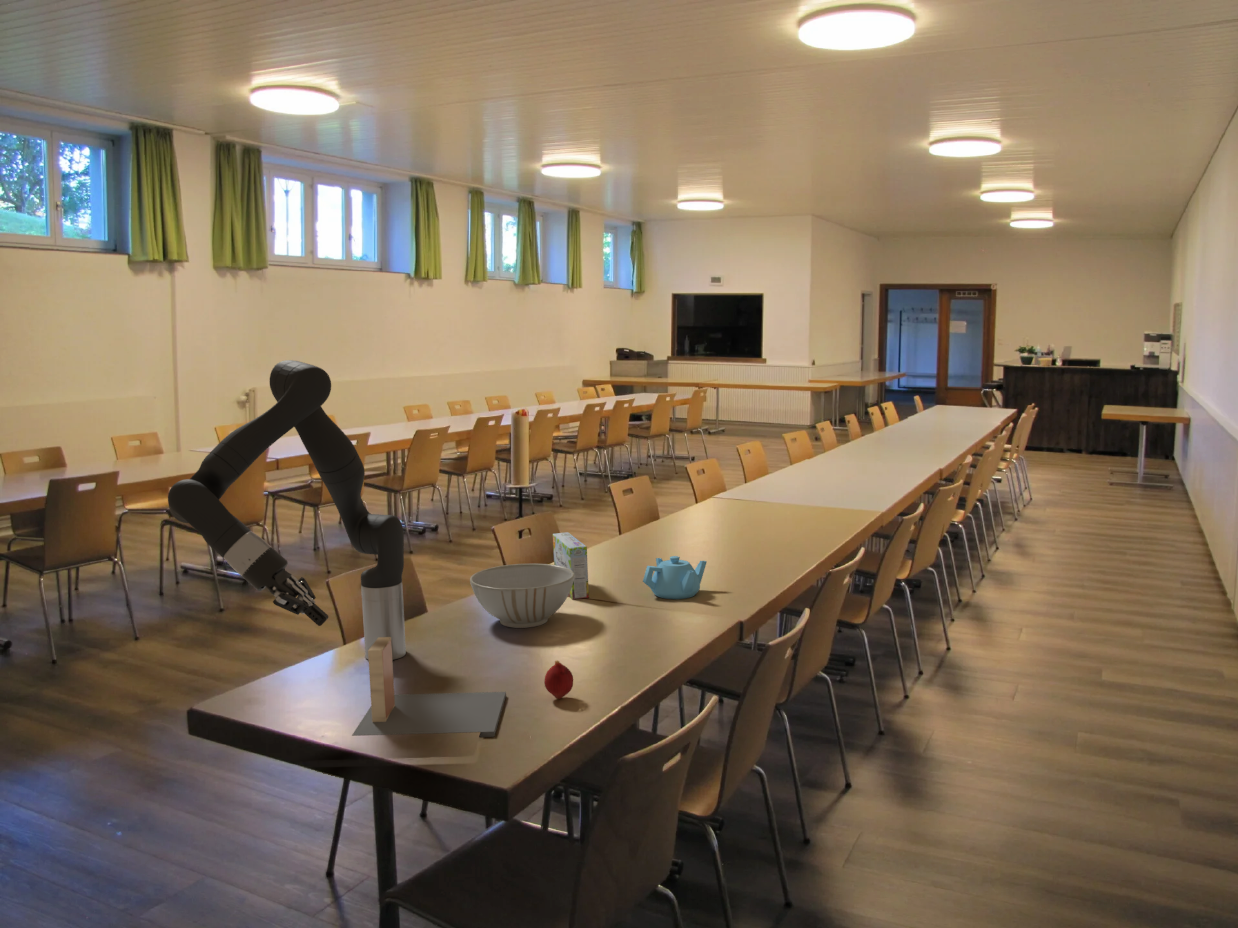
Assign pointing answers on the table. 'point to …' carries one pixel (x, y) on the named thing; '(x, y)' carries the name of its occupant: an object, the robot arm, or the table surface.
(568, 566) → the snack box
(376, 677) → the wooden block
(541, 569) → the decorative bowl
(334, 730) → the table surface
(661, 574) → the teapot
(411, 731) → the mat
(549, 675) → the onion
